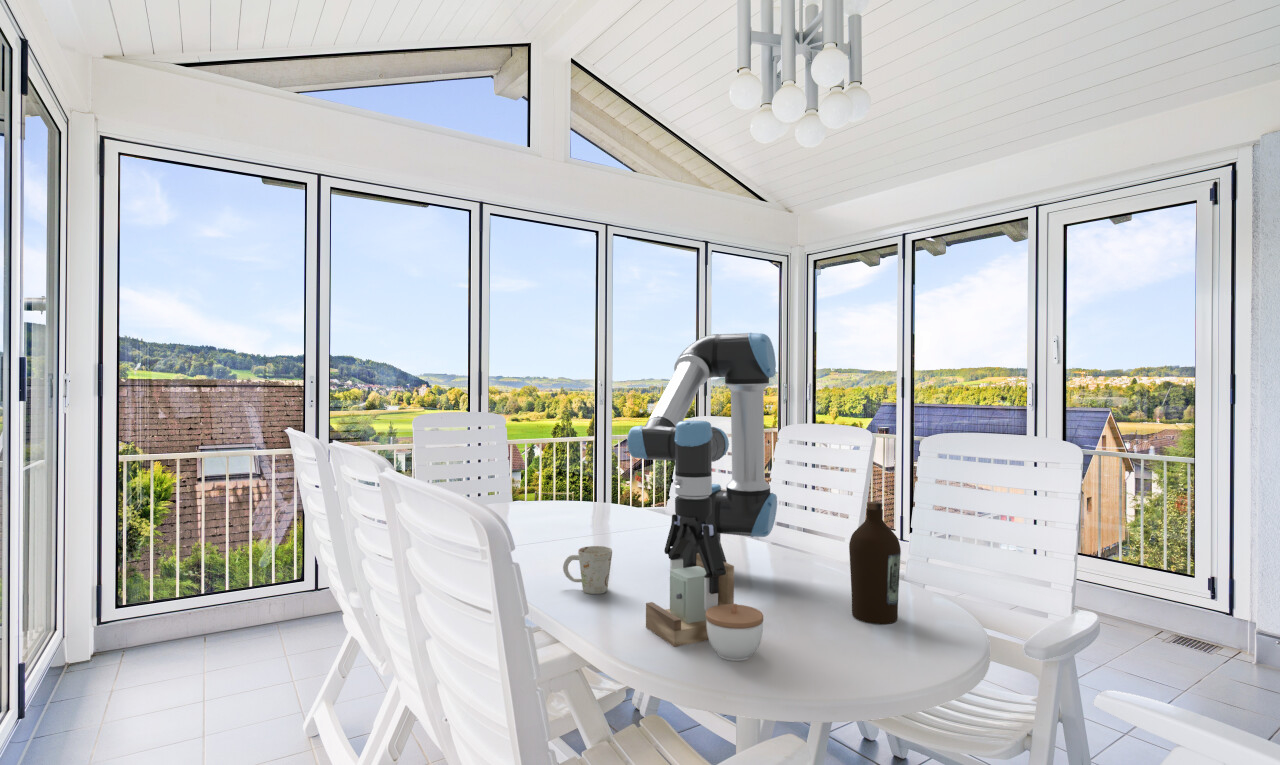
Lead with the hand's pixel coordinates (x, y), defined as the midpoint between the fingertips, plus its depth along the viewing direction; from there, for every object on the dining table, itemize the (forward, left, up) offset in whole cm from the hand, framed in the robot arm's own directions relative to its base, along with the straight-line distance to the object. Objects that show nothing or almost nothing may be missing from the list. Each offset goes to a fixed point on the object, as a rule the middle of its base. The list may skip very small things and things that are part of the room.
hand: (693, 599), depth 138 cm
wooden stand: (+1, 0, -6) cm, 6 cm away
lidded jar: (0, +14, -7) cm, 16 cm away
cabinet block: (0, 0, -3) cm, 3 cm away
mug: (+9, -35, -7) cm, 37 cm away
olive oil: (-40, +11, -7) cm, 42 cm away
